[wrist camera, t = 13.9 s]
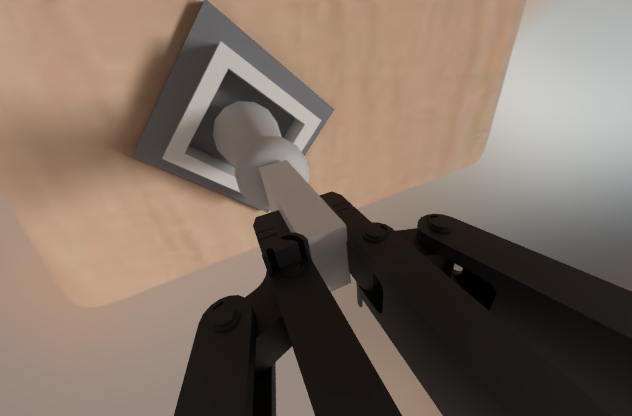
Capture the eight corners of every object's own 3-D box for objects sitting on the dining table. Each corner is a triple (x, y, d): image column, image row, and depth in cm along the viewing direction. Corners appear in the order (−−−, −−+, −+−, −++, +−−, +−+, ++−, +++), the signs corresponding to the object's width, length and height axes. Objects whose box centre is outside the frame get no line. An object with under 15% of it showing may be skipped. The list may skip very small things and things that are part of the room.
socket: (204, 1, 19) (205, -12, 16) (330, 108, 27) (347, 114, 24) (134, 153, 22) (122, 168, 19) (266, 208, 30) (273, 225, 27)
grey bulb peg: (214, 159, 24) (225, 232, 13) (208, 95, 21) (215, 127, 11) (273, 157, 26) (320, 220, 16) (273, 100, 23) (332, 130, 13)
